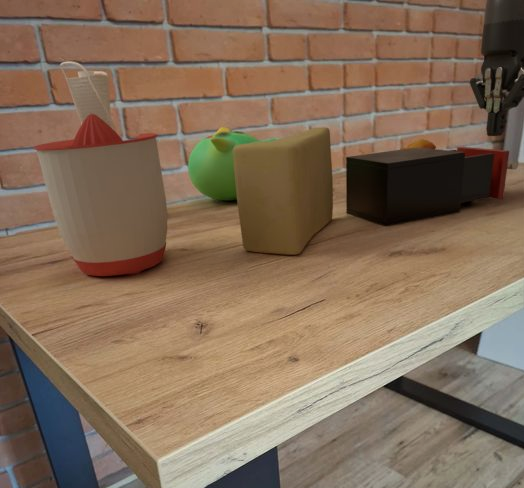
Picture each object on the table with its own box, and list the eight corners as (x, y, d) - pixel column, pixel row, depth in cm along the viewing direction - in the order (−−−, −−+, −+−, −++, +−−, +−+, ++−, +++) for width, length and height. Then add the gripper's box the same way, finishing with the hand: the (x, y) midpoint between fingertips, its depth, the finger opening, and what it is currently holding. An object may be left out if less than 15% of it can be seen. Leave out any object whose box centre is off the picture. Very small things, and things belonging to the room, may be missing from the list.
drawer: (477, 186, 100) (482, 143, 97) (524, 194, 91) (531, 147, 87) (399, 199, 95) (401, 155, 91) (439, 209, 85) (443, 160, 82)
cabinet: (413, 201, 97) (416, 147, 92) (459, 212, 86) (465, 152, 82) (346, 213, 92) (346, 157, 88) (385, 226, 82) (388, 163, 77)
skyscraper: (98, 228, 97) (61, 60, 84) (93, 221, 104) (57, 64, 91) (142, 221, 100) (112, 57, 87) (134, 214, 106) (105, 61, 94)
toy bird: (250, 189, 123) (244, 123, 116) (289, 197, 110) (285, 123, 103) (181, 201, 115) (171, 131, 109) (214, 211, 102) (205, 132, 96)
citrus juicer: (195, 245, 80) (175, 105, 71) (152, 283, 65) (120, 112, 56) (105, 247, 84) (75, 113, 74) (44, 284, 68) (-3, 122, 59)
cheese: (303, 217, 92) (300, 127, 85) (355, 219, 87) (355, 124, 80) (239, 252, 75) (228, 143, 68) (299, 257, 70) (293, 140, 64)
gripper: (561, 12, 78) (541, 135, 86) (496, 25, 89) (483, 132, 97) (523, 14, 76) (506, 139, 83) (461, 26, 87) (451, 136, 94)
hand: (494, 135), depth 90 cm, fingers closed
